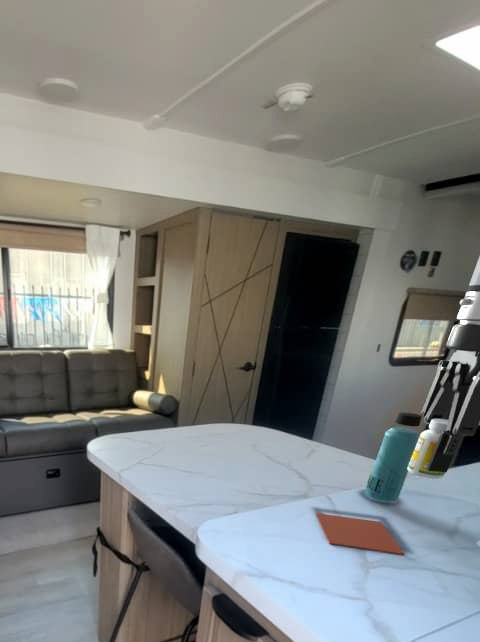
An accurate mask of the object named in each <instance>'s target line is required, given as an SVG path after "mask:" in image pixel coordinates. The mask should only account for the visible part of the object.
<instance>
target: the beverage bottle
mask: <svg viewBox="0 0 480 642" xmlns="http://www.w3.org/2000/svg"><path fill="white" fill-rule="evenodd" d="M422 418H423V416H421V414H419V413H415V412H410V411H409V412H408V411H400V412H399V413H398V414H397V416H396V418H395V420H394V423H395V424H398V425H402V426H405V427H402V426H401V427H400V426H395V427H392V428H390V429H388V430H385V432H384V436H383V439H382V442H381V444H380V447H379V448H378V451H377V454H376V457H375V462H374V464H373V466H372V469H371V470H372V471H371V472H370V473H369V477H368V479H367V483H366V486H365V495H366V496H368V497H369V498H371V499H374V500H376V501H377V500H378V501H381V502H387V503H388V502H389V503H392V502H396V501H397V500H398V499H399V498H400V495H401V493H402V490H403V487H404V485H405V482H406V479H407V477H408V473H409V471H408V469H407V468H408V465H409V462H410V460H411V457H412V455H413V452H414V450H415V447H416V444H417V442H418V439H419V437H420V435H421V434H419V432H418V431H417V430H415V429H412V428H407V427H419V426H420V425H421V421H422Z"/></svg>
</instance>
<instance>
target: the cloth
mask: <svg viewBox="0 0 480 642" xmlns="http://www.w3.org/2000/svg"><path fill="white" fill-rule="evenodd" d="M316 515H317V516H316ZM315 516H316V518H317V517H318V518H317V520H318V523H319V524H320V526H321V529H322V531H323V533H324V535H325V537H326V540H327V543H328V544H329V545H333V546H339V547H348V548H354V549H361V550H367V551H374V552H379V551H380V553H386V552H387V553H386V554H392V555H393V554H394V555H400V556H405V552H404V551H403V550H402V548H401V547H400V545H399V544H398V543H397V542H396V540H395V539H394V538H393V536H392V534H391V533H390V532H389V531H388V529H387V528H386V526H385V525H384V524H383V523H382V522H381V521H378V520H370V519H363V518H357V517H349V516H342V515H333V514H326V513H318V512H316V513H315Z"/></svg>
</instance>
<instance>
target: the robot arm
mask: <svg viewBox="0 0 480 642" xmlns="http://www.w3.org/2000/svg"><path fill="white" fill-rule="evenodd" d="M459 306H460V307H459V308H460V309H459V312H458V314H457V317H456V319H457V320H458V321H460V322H459V323H456V324H455V325H453V326H452V328H451V332H450V334H449V337H448V340H447V342H446V345H445V346H446V348H447V349H449V350H454V352H453V354H452V356H451V357H450V359H448V360H447V359H441V360H439V362H438V364H437V369H436V373H435V376H434V379H433V381H432V384H431V385H430V389H429V392H428V393H427V396H426V399H425V402H424V404H423V407H422V410H421V412H420V415H421V416H422V417H424V418H423V422H424V425H423V427H422V429H421V433H422V432H424V431H426V430H430V428H429V425H430V422H431V420H432V419H446V417H447V415H448V414H449V416H448V419H447V420H448V424H447V428H446V431H440V437H439V439H438V442H437V444H436V447H435V449H434V452H433V454H432V457H431V459H430V462H429V464H428V466H427V470H428V471H437V472H445V473H448V471H449V468H450V467H451V463H452V461H453V460H454V457H455V454H456V452H457V450H458V447H459V446H460V442H461V440H462V438H463V437H466V436H470V437H471V436H472V437H473V436H475V434H476V431H477V429H478V428H479V424H480V256H479V257H478V259H477V262H476V264H475V268H474V270H473V273H472V276H471V278H470V282H469V284H468V287H467V290H466V292H465V295H464V297H463V298H462V299H460V301H459ZM449 411H450V412H449ZM421 433H420V434H421Z"/></svg>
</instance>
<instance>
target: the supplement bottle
mask: <svg viewBox="0 0 480 642" xmlns="http://www.w3.org/2000/svg"><path fill="white" fill-rule="evenodd" d="M448 420H449V419H446V418H445V419H432V420H431V422H430V425H429V428H430V430H426V431H424V432H422V431H421V432H422V433H420V434H419V435H420V437H419V439H418V442H417V444H416V447H415V450H414V452H413V455H412V457H411V460H410V462H409V465H408V468H407V469H408V473H411V474H412V475H414V476H418V477H422V478H427V479H435V480H437V479H441V478H443V477H444V476H445V474H446V472H437V471H428V470H427V466H428V464H429V462H430V459H431V457H432V454H433V452H434V449H435V447H436V444H437V442H438V439H439V437H440V431H446V428H447V424H448Z"/></svg>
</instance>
